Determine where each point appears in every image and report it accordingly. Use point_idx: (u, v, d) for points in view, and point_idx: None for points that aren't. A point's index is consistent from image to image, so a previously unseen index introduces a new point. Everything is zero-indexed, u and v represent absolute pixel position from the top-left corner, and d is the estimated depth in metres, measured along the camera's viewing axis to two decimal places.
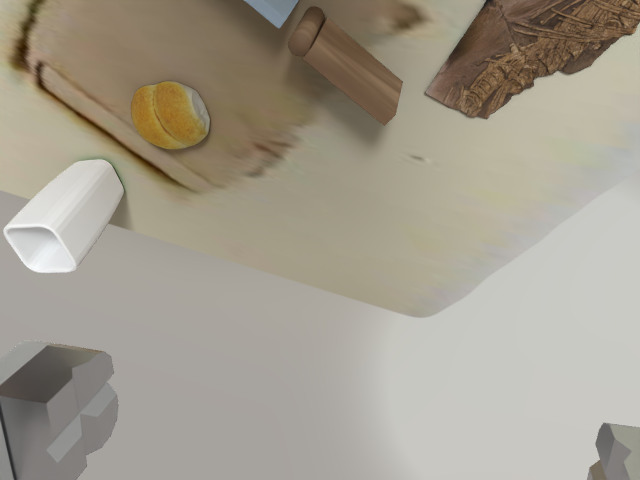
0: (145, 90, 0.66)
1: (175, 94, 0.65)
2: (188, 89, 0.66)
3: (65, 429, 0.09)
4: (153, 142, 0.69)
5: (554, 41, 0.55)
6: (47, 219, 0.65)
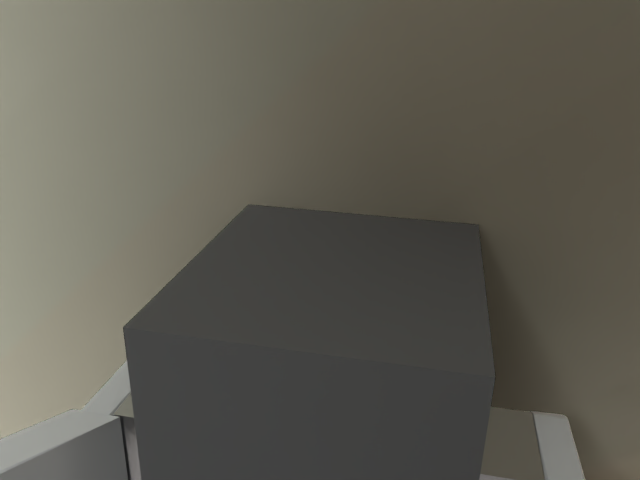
0: None
1: None
2: None
3: None
4: None
5: None
6: None
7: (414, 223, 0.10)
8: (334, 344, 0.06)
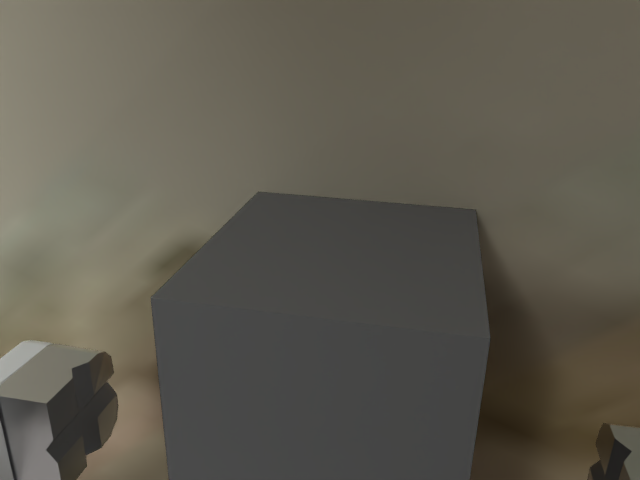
0: None
1: None
2: None
3: (65, 429, 0.09)
4: None
5: None
6: None
7: (415, 208, 0.10)
8: (343, 311, 0.07)
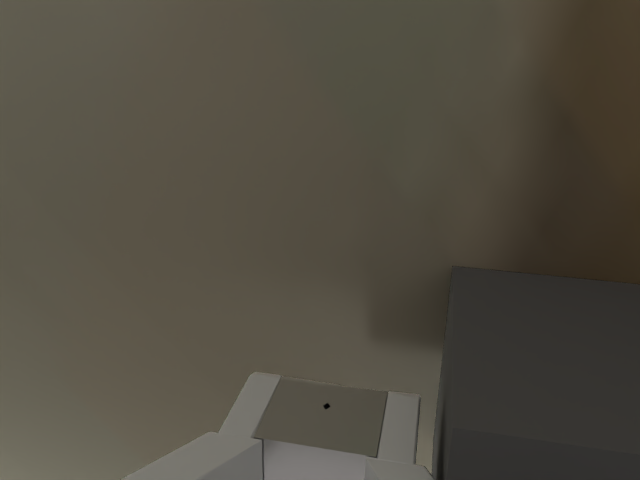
0: None
1: None
2: None
3: None
4: None
5: None
6: None
7: (446, 324, 0.11)
8: None
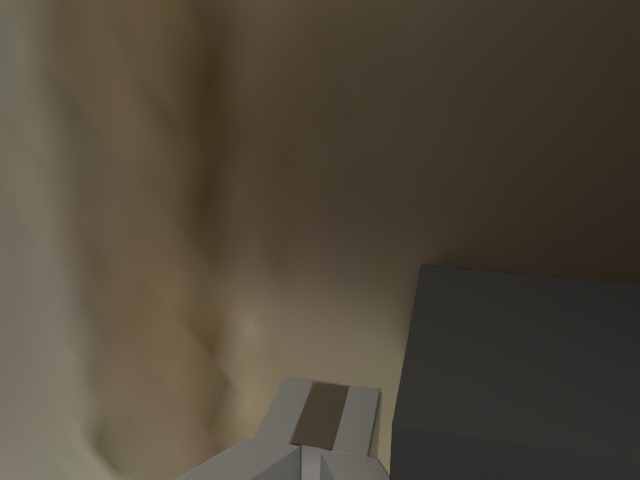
0: None
1: None
2: None
3: None
4: None
5: None
6: None
7: None
8: None
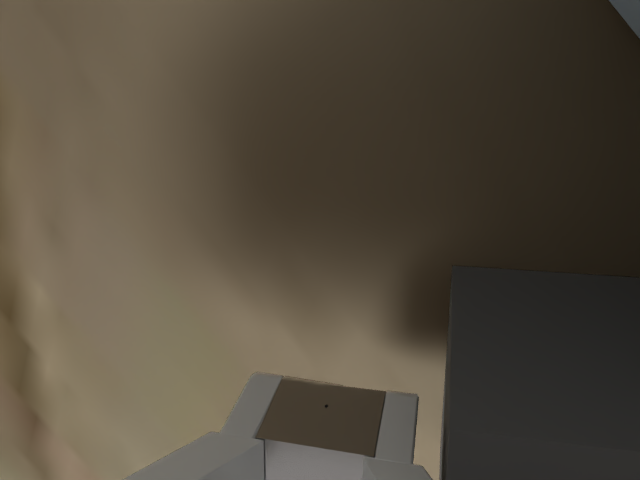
0: None
1: None
2: None
3: None
4: None
5: None
6: None
7: None
8: None
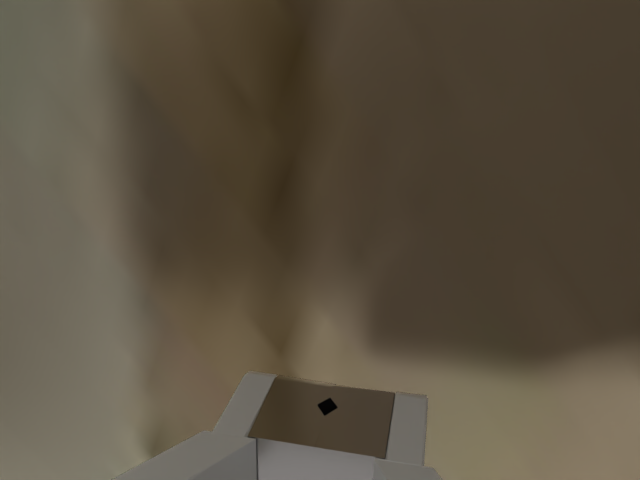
0: None
1: None
2: None
3: None
4: None
5: None
6: None
7: None
8: None
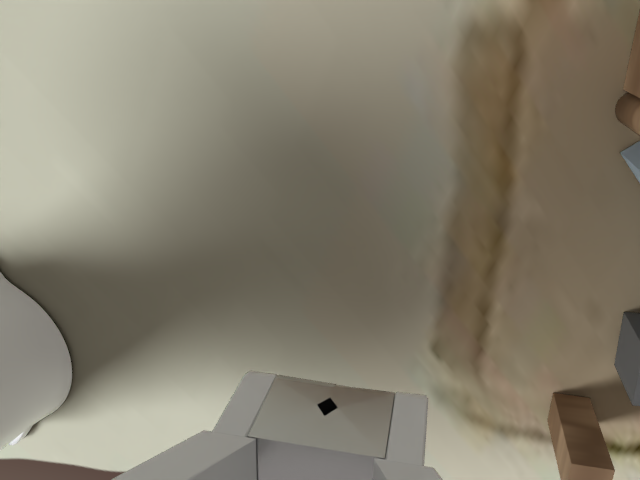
0: None
1: None
2: None
3: None
4: None
5: None
6: None
7: (621, 327, 0.38)
8: (637, 370, 0.35)
